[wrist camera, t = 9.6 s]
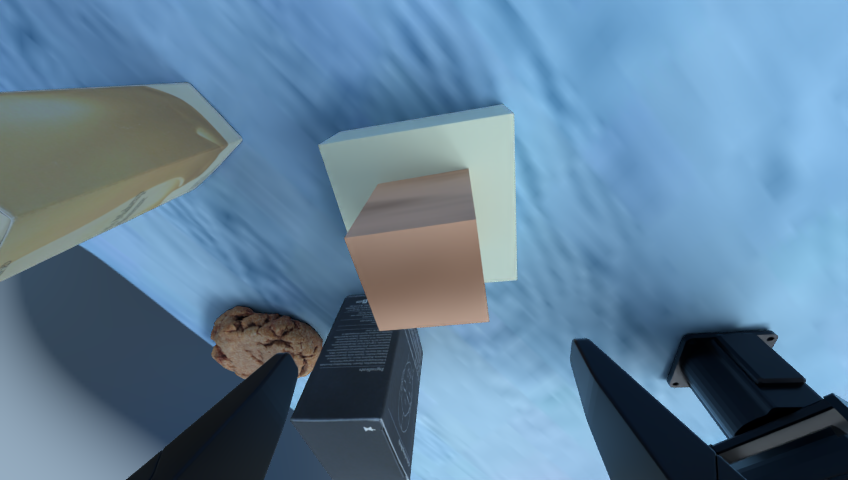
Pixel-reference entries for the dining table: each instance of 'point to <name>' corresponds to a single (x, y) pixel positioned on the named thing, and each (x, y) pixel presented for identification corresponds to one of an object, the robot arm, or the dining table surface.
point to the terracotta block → (420, 253)
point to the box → (362, 398)
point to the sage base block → (437, 170)
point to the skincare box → (98, 161)
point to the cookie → (262, 341)
